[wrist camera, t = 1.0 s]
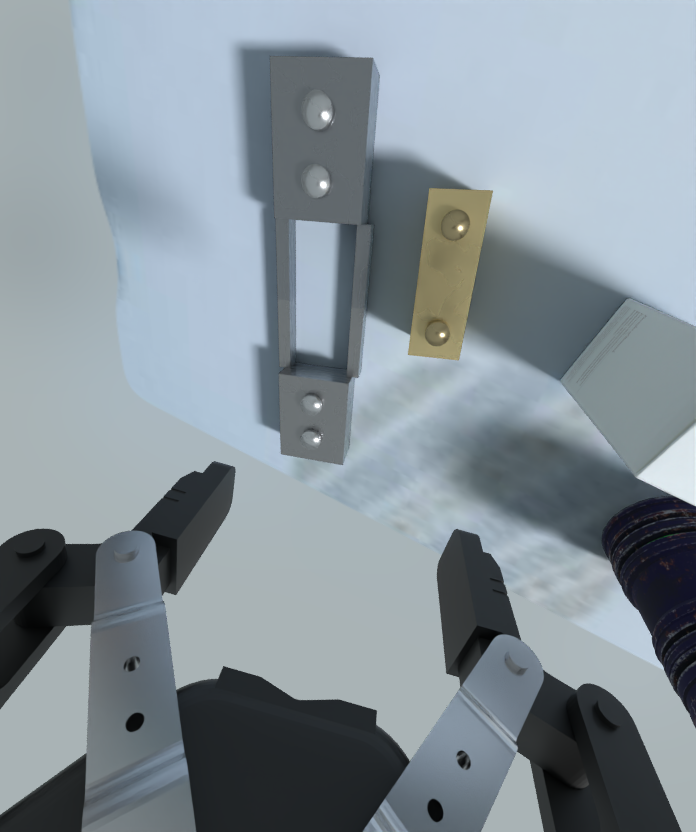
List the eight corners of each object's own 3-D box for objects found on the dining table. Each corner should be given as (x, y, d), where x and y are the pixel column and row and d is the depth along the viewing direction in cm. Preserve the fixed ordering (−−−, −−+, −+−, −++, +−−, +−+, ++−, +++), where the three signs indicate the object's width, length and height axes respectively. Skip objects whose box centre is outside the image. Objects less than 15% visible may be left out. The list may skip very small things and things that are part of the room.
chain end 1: (280, 73, 24) (257, 51, 21) (387, 76, 23) (380, 53, 20) (284, 295, 30) (267, 304, 27) (366, 305, 30) (359, 315, 26)
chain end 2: (284, 295, 30) (267, 304, 27) (366, 305, 30) (359, 315, 26) (286, 436, 37) (273, 456, 34) (354, 448, 36) (346, 469, 33)
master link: (429, 193, 25) (429, 187, 20) (482, 195, 25) (494, 189, 20) (411, 335, 30) (407, 357, 25) (454, 339, 30) (459, 363, 25)
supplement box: (555, 380, 29) (628, 477, 19) (627, 294, 26) (771, 351, 15) (636, 421, 30) (754, 539, 19) (719, 341, 26) (927, 431, 15)
